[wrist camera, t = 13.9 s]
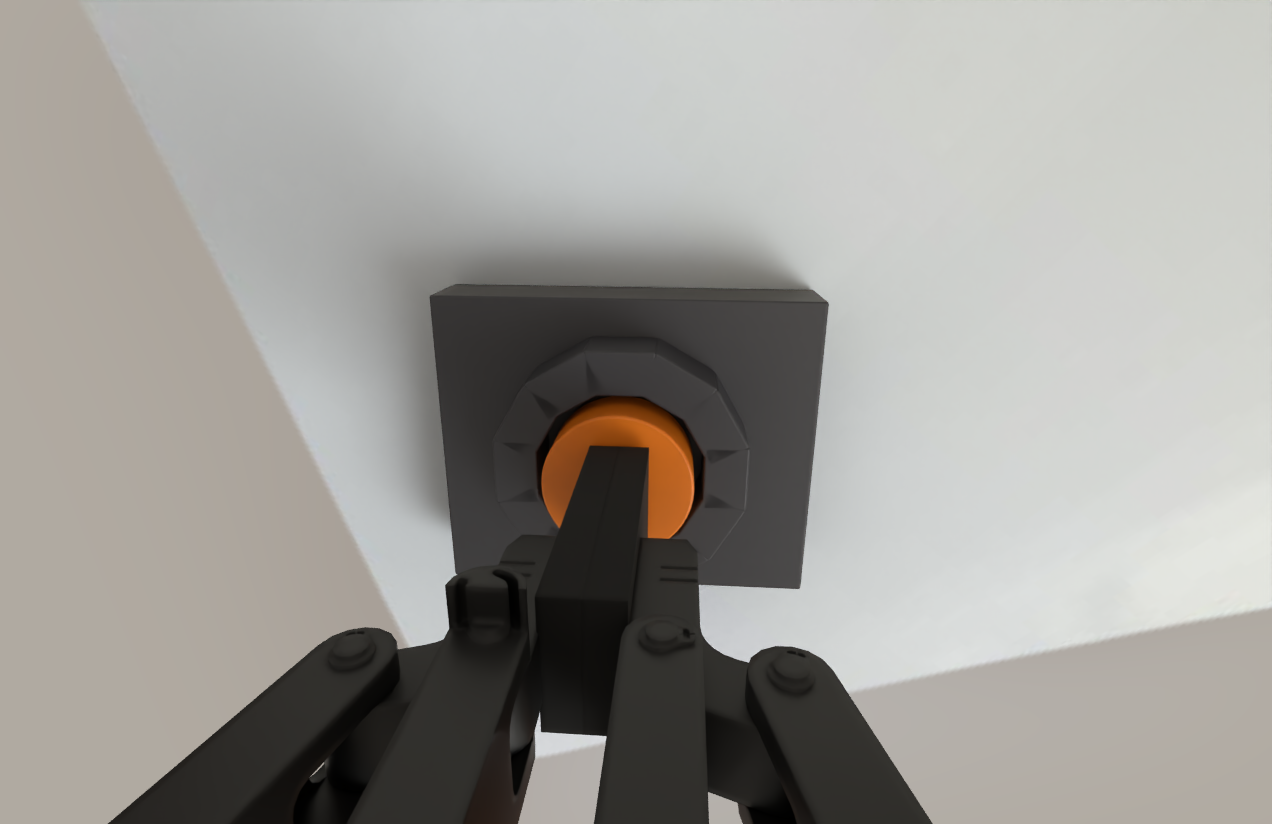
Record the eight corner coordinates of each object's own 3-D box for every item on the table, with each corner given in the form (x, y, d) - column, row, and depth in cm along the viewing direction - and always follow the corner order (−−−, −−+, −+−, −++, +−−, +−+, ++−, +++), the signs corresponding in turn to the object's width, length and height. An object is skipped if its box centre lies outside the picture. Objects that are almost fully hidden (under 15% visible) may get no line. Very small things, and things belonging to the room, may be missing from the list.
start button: (555, 522, 20) (543, 553, 18) (550, 393, 18) (537, 413, 17) (691, 527, 19) (691, 559, 18) (695, 396, 18) (697, 418, 17)
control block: (475, 540, 24) (435, 608, 20) (454, 283, 21) (403, 306, 17) (789, 553, 23) (810, 625, 19) (814, 289, 20) (844, 315, 16)
